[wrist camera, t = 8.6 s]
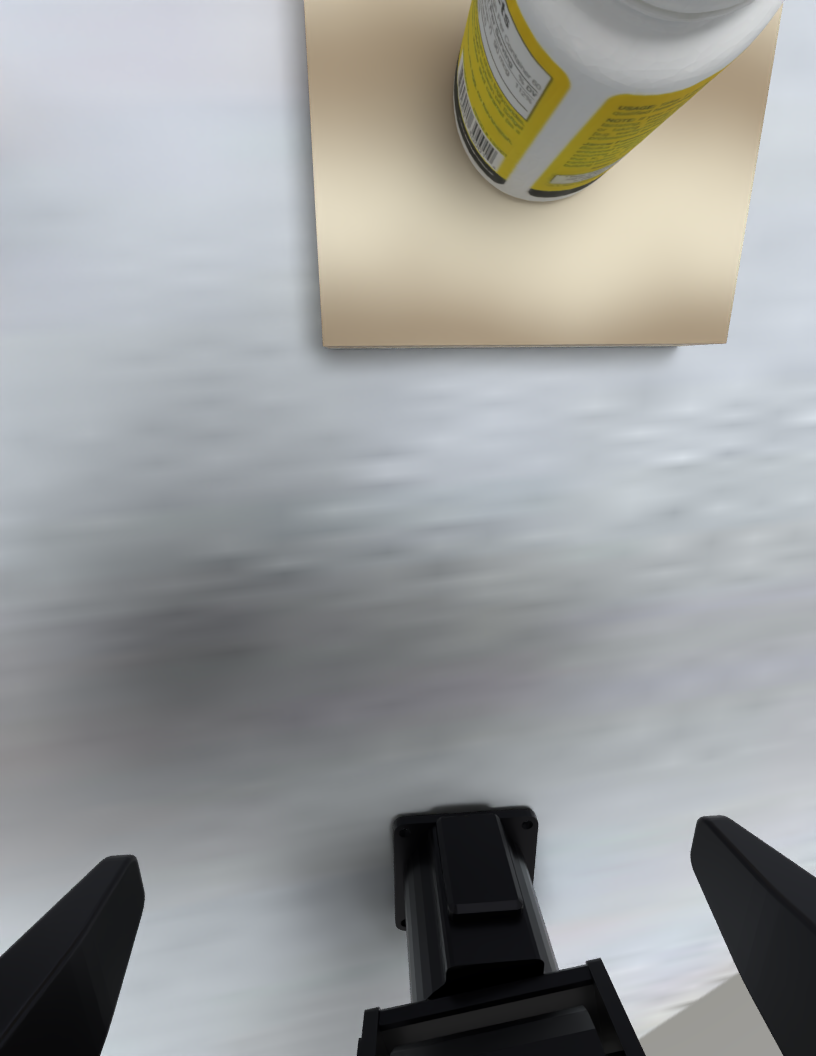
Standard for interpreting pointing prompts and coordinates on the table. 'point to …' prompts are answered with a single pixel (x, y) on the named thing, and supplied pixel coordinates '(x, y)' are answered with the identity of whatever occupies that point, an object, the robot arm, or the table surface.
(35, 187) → the table surface
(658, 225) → the birch base
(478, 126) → the supplement bottle
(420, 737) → the table surface
